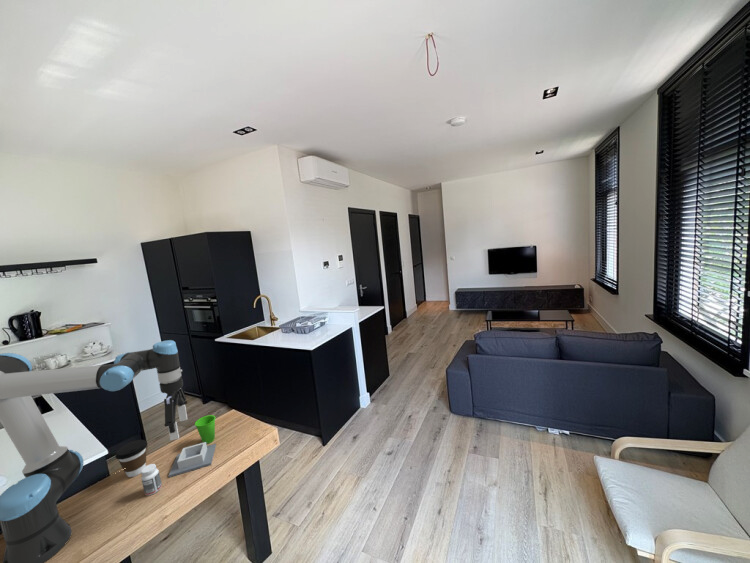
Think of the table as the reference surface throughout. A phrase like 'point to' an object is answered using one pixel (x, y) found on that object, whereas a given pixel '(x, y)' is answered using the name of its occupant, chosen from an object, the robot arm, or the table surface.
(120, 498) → the table surface
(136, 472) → the coffee cup
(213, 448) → the socket
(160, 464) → the table surface
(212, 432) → the cup
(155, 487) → the pill bottle
